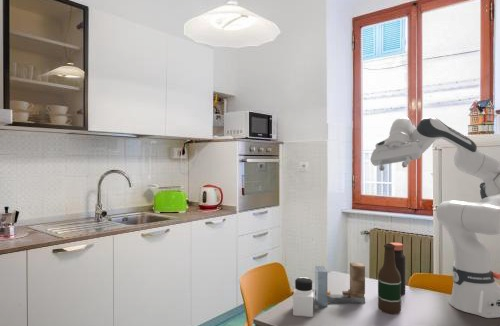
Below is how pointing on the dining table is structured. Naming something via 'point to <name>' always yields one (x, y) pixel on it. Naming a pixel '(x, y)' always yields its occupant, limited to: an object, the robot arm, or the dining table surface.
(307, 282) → the medicine bottle
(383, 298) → the beer bottle
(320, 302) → the rail and cabinet
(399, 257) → the vinegar
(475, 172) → the robot arm
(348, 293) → the carriage
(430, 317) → the dining table surface
